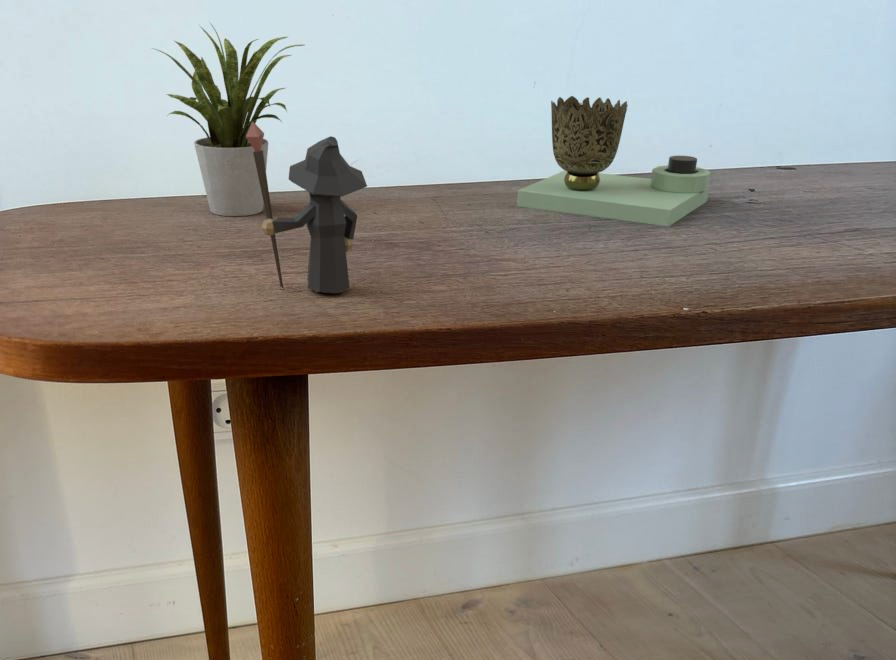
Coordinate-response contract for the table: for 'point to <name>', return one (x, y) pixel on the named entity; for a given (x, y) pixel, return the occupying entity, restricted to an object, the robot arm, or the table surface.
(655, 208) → the scale
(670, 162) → the button
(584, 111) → the cup
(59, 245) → the table surface
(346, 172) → the wizard figurine
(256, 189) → the house plant
